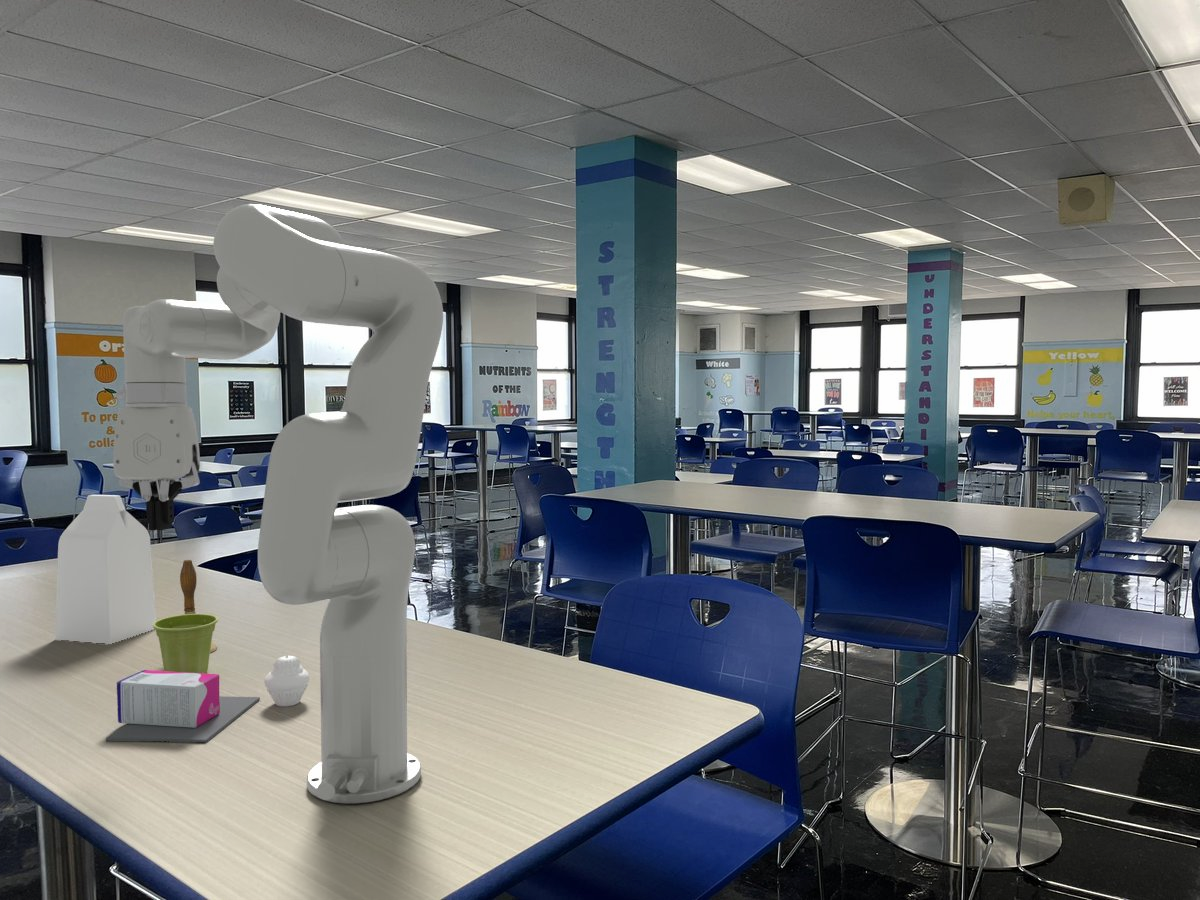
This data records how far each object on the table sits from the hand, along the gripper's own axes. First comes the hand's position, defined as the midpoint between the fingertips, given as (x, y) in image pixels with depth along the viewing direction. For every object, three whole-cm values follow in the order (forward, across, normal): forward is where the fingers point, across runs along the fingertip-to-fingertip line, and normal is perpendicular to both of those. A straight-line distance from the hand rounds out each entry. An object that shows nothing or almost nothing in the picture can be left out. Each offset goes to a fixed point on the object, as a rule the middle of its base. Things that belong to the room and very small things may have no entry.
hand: (160, 528), depth 120 cm
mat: (+26, +4, -3) cm, 26 cm away
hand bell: (+26, -11, +29) cm, 40 cm away
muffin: (+26, +16, +4) cm, 31 cm away
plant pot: (+26, -5, +16) cm, 31 cm away
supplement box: (+22, -3, -3) cm, 23 cm away
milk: (+25, -31, +40) cm, 57 cm away
